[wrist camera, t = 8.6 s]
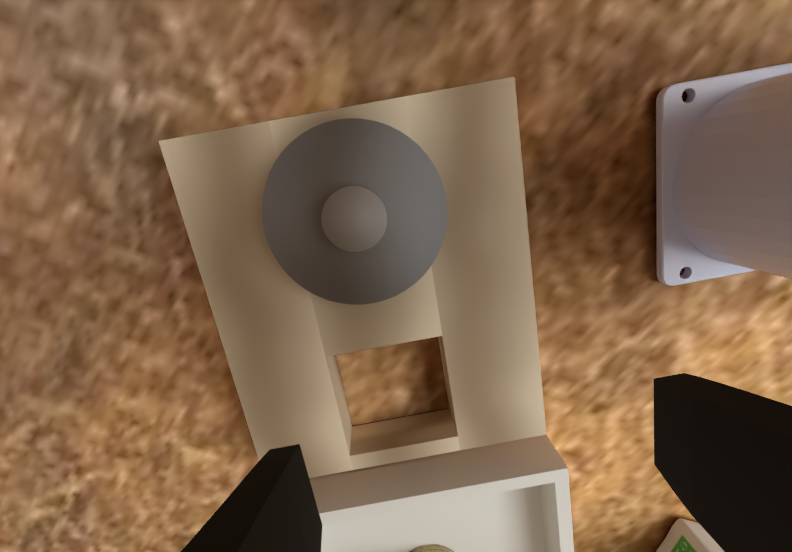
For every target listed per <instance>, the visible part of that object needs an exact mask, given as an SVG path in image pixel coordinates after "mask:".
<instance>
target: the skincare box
mask: <svg viewBox="0 0 792 552" xmlns="http://www.w3.org/2000/svg"><path fill="white" fill-rule="evenodd" d="M656 552H724V551H723V549H722V548H721V547H720V546H719V545H718V544H717V543H716V542H715V541H714V539H713V538H712V537H711V536H710V535H709V534H708V533H707V532H706V531H705V529H704V528H703V527H702V526H701V525H700V524H699V523H698V522H695V521H690V520H686V519H682V518H681V519H678V520H676V522H675V523H674V524H673V526H672V527H671V529H670V531H669V533H668V535H667V536H666V538H665V539H664V541H663V542H662V543H661V545H660V546H659V548H658V549H657V551H656Z"/></svg>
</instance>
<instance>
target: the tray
mask: <svg viewBox="0 0 792 552" xmlns="http://www.w3.org/2000/svg"><path fill="white" fill-rule="evenodd" d="M309 479H310V483H311V487H312V490H313V494H314V497H315V501H316V504H317V508H318V511H319V515H320V519H321V522H322V540H321V552H410V551H411V550H413V549H414V548H416V547H419V546H422V545H427V544H438V545H443V546H446V547H448V548H450V549H452V550H453V551H454V552H574V543H573V529H572V516H571V502H570V489H569V475H568V467H567V466H566V464H565V463H564V461H563V460H562V458H561V457H560V455H559V454H558V452H557V450H556V449H555V447H554V446H553V444H552V443H551V441H550V440H549V438H548V437H547V435H542V436H536V437H531V438H525V439H520V440H514V441H509V442H503V443H498V444H492V445H487V446H481V447H476V448H471V449H465V450H460V451H454V452H449V453H443V454H438V455H432V456H427V457H421V458H416V459H410V460H405V461H400V462H394V463H389V464H383V465H378V466H372V467H367V468H361V469H356V470H350V471H345V472H339V473H334V474H328V475H323V476H318V477H312V478H309Z"/></svg>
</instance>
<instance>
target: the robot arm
mask: <svg viewBox="0 0 792 552" xmlns="http://www.w3.org/2000/svg"><path fill="white" fill-rule="evenodd" d="M684 91H685V92H686V93H687V100H686V101H685V102H684V101H683V100H682V93H683V92H684ZM656 206H657V278H658V280H659V281H660V282H661V283H663V284H665V285H668V286H675V285H680V284H686V283H691V282H697V281H702V280H708V279H713V278H719V277H724V276H730V275H735V274H741V273H746V272H752V271H757V270H758V271H762V272H766V273H770V274H774V275H778V276H782V277H786V278H790V279H792V63H787V64H782V65H776V66H770V67H765V68H759V69H754V70H748V71H743V72H737V73H732V74H726V75H721V76H715V77H710V78H704V79H699V80H693V81H688V82H682V83H677V84H673V85H669V86H667V87H664V88H663V89H662V90H661V91H660V92H659V94H658V96H657V99H656ZM682 268H685V271H684V273H683V274H682V275H681V276H680V271H681V269H682ZM654 462H655V466H656V467H657V468H658V470H659V471H660V473H661V474H662V475H663V477H664V478H665V480H666V481H667V482H668V484H669V485H670V487H671V488H672V490H673V491H674V492H675V494H676V495H677V496H678V498H679V499H680V500H681V502H682V503H683V504H684V505H685V507H686V508H687V509H688V511H689V512H690V513H691V515H692V516H693V517H694V518H695V519H696V520H697V522H698V523H699V524H700V525H701V526H702V527H703V528H704V529H705V531H706V532H707V533H708V534H709V535H710V536H711V537H712V538H713V539H714V541H715V542H716V543H717V544H718V545H719V546H720V547H721V548H722V549H723V551H724V552H792V406H790V405H787V404H784V403H780V402H777V401H774V400H771V399H768V398H765V397H762V396H759V395H756V394H753V393H750V392H747V391H744V390H740V389H737V388H734V387H731V386H728V385H724V384H721V383H718V382H715V381H711V380H708V379H704V378H701V377H697V376H693V375H689V374H685V373H683V374H677V375H672V376H666V377H661V378H656V379H654ZM321 540H322V522H321V519H320V515H319V511H318V508H317V504H316V501H315V497H314V494H313V490H312V487H311V483H310V479H309V476H308V472H307V469H306V465H305V462H304V458H303V454H302V451H301V447H300V444H297V445H291V446H286V447H280V448H275V449H270V450H269V451H268V452H267V453H266V454H265V455H264V456H263V457H262V458H261V460H260V461H259V462H258V463H257V464H256V465H255V466H254V468H253V469H252V470H251V471H250V472H249V473H248V475H247V476H246V477H245V478H244V479H243V481H242V482H241V483H240V484H239V485H238V486H237V488H236V489H235V490H234V491H233V492H232V494H231V495H230V496H229V497H228V498H227V499H226V501H225V502H224V503H223V504H222V505H221V506H220V508H219V509H218V510H217V511H216V512H215V513H214V514H213V516H212V517H211V518H210V519H209V520H208V521H207V523H206V524H205V525H204V526H203V527H202V528H201V529H200V531H199V532H198V533H197V534H196V535H195V536H194V538H193V539H192V540H191V541H190V542H189V543H188V544H187V545H186V547H185V548H184V549H183V550H182V551H181V552H321Z"/></svg>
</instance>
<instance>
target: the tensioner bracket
mask: <svg viewBox="0 0 792 552" xmlns="http://www.w3.org/2000/svg"><path fill="white" fill-rule="evenodd" d="M159 144H160V147H161V151H162V154H163V157H164V160H165V163H166V166H167V170H168V173H169V176H170V179H171V182H172V186H173V189H174V192H175V195H176V198H177V202H178V205H179V208H180V211H181V214H182V217H183V221H184V224H185V227H186V230H187V233H188V237H189V240H190V243H191V246H192V249H193V252H194V256H195V259H196V262H197V265H198V268H199V272H200V275H201V278H202V281H203V284H204V287H205V291H206V294H207V297H208V300H209V303H210V307H211V310H212V313H213V316H214V319H215V323H216V326H217V329H218V332H219V335H220V338H221V342H222V345H223V348H224V351H225V354H226V358H227V361H228V364H229V367H230V370H231V373H232V377H233V380H234V383H235V386H236V389H237V393H238V396H239V399H240V402H241V405H242V408H243V412H244V415H245V418H246V421H247V424H248V428H249V431H250V434H251V437H252V440H253V444H254V447H255V450H256V453H257V456H258V459H259V461H260V460H261V458H262V457H263V456H264V455H265V454H266V453H267V452H268V451H269V450H270V449H275V448H280V447H286V446H291V445H297V444H300V447H301V451H302V454H303V458H304V462H305V465H306V469H307V472H308V476H309V478H312V477H318V476H323V475H328V474H334V473H339V472H345V471H350V470H356V469H361V468H367V467H372V466H378V465H383V464H389V463H394V462H400V461H405V460H410V459H416V458H421V457H427V456H432V455H438V454H443V453H449V452H454V451H460V450H465V449H471V448H476V447H481V446H487V445H492V444H498V443H503V442H509V441H514V440H520V439H525V438H531V437H536V436H542V435H546V425H545V413H544V402H543V391H542V380H541V368H540V357H539V346H538V335H537V323H536V312H535V301H534V289H533V278H532V267H531V256H530V244H529V233H528V222H527V211H526V199H525V188H524V177H523V166H522V154H521V143H520V132H519V121H518V109H517V98H516V87H515V77H509V78H504V79H498V80H493V81H487V82H481V83H476V84H470V85H465V86H459V87H454V88H448V89H443V90H437V91H432V92H426V93H421V94H415V95H410V96H404V97H399V98H393V99H388V100H382V101H377V102H371V103H365V104H360V105H354V106H349V107H343V108H338V109H332V110H327V111H321V112H316V113H310V114H305V115H299V116H294V117H288V118H283V119H277V120H272V121H266V122H261V123H255V124H249V125H244V126H238V127H233V128H227V129H222V130H216V131H211V132H205V133H200V134H194V135H189V136H183V137H178V138H172V139H167V140H161V141H159ZM433 337H438V340H439V346H440V352H441V359H442V365H443V371H444V377H445V384H446V390H447V396H448V403H449V409H445V410H440V411H434V412H429V413H423V414H418V415H412V416H407V417H401V418H396V419H391V420H385V421H380V422H374V423H369V424H363V425H358V426H352V422H351V418H350V413H349V409H348V405H347V401H346V396H345V392H344V388H343V384H342V379H341V375H340V371H339V367H338V362H337V358H336V355H340V354H345V353H351V352H356V351H362V350H367V349H373V348H378V347H384V346H389V345H395V344H400V343H406V342H411V341H417V340H422V339H428V338H433Z"/></svg>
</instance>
